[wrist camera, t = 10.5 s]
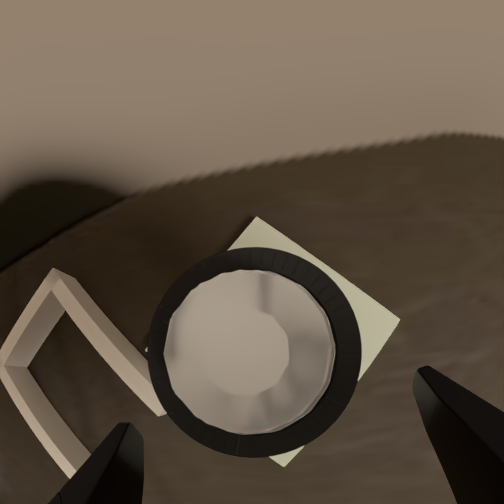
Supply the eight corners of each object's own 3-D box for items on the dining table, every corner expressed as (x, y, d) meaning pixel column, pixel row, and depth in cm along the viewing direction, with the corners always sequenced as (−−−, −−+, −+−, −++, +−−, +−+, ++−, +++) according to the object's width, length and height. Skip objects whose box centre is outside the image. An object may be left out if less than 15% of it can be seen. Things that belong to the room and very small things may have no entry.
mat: (284, 464, 14) (283, 467, 14) (148, 350, 17) (144, 349, 17) (397, 320, 16) (400, 319, 15) (257, 220, 19) (256, 216, 18)
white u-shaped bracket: (106, 485, 14) (85, 496, 12) (15, 366, 18) (-8, 363, 15) (186, 398, 16) (170, 403, 14) (75, 278, 19) (52, 267, 17)
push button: (218, 285, 17) (137, 197, 8) (316, 277, 17) (343, 172, 7) (223, 408, 15) (135, 461, 6) (327, 401, 15) (376, 458, 5)
